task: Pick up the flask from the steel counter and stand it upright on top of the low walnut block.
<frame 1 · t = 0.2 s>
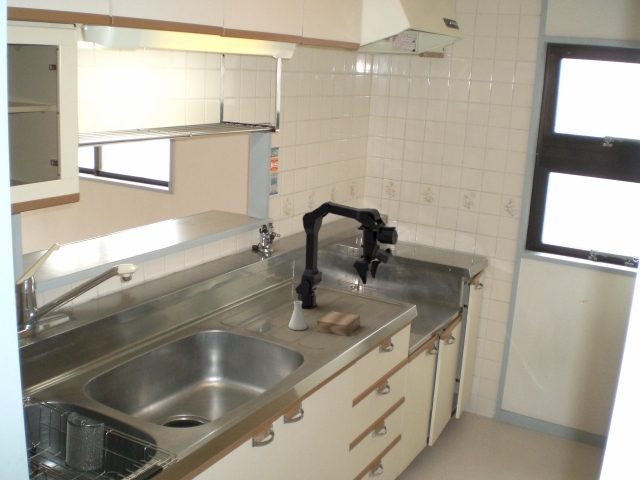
hand: (369, 281, 270), 14 cm above the counter, tool pointing down, fingers open, 9 cm apart
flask: (298, 328, 261), on the counter
walnut block: (338, 328, 260), on the counter
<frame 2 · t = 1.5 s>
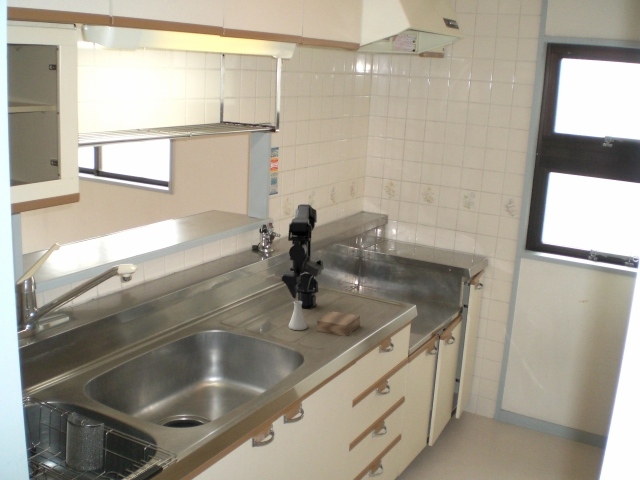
hand: (300, 294, 258), 13 cm above the counter, tool pointing down, fingers open, 9 cm apart
nothing on the counter moved.
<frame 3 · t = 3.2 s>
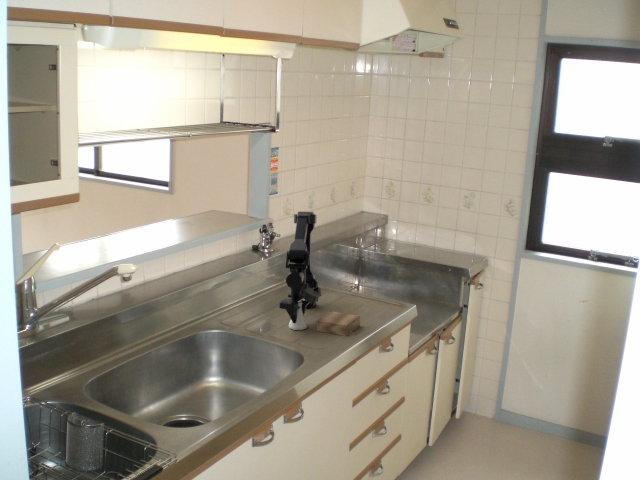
hand: (298, 320, 260), 3 cm above the counter, tool pointing down, fingers closed on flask, 5 cm apart
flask: (298, 327, 260), on the counter, touching gripper
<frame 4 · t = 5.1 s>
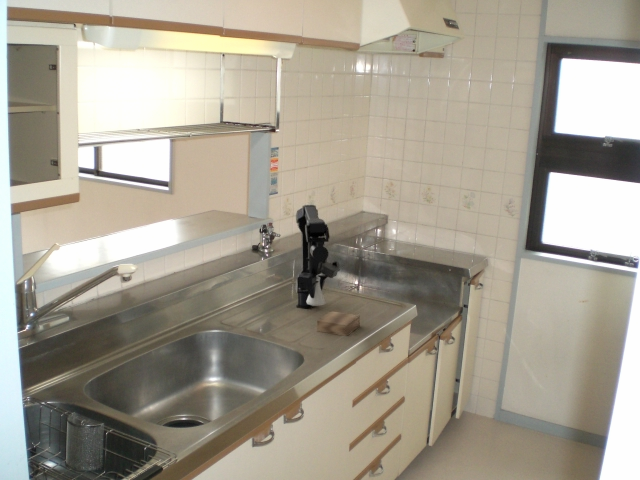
hand: (316, 295, 257), 13 cm above the counter, tool pointing down, fingers closed on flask, 5 cm apart
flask: (316, 303, 258), point 9 cm above the counter, touching gripper
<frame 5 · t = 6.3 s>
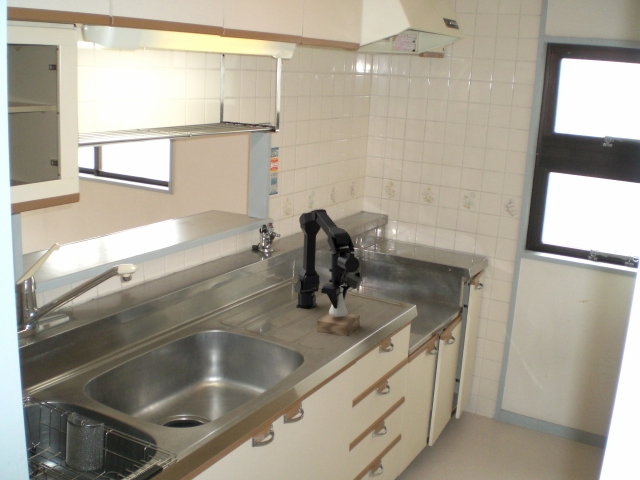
hand: (338, 306, 258), 9 cm above the counter, tool pointing down, fingers closed on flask, 5 cm apart
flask: (338, 314, 259), point 5 cm above the counter, touching gripper
when the fingers open (7 cm above the counter, at t = 7.3 s): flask stays where it is, resting on walnut block.
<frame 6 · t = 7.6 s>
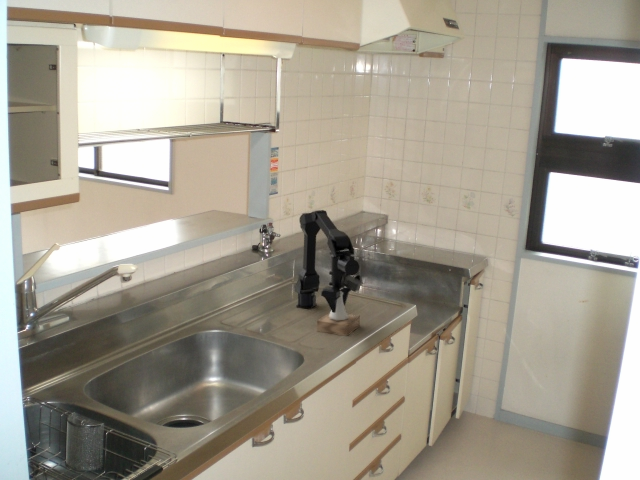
hand: (338, 309, 258), 7 cm above the counter, tool pointing down, fingers open, 8 cm apart
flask: (338, 318, 259), point 4 cm above the counter, touching walnut block
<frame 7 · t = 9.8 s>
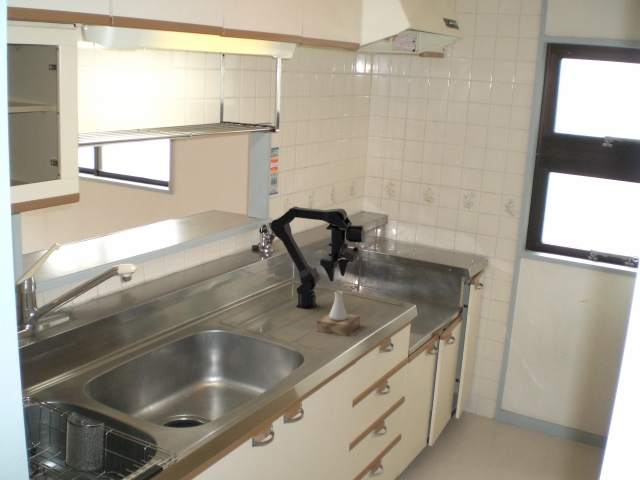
hand: (337, 278, 279), 13 cm above the counter, tool pointing down, fingers open, 9 cm apart
nothing on the counter moved.
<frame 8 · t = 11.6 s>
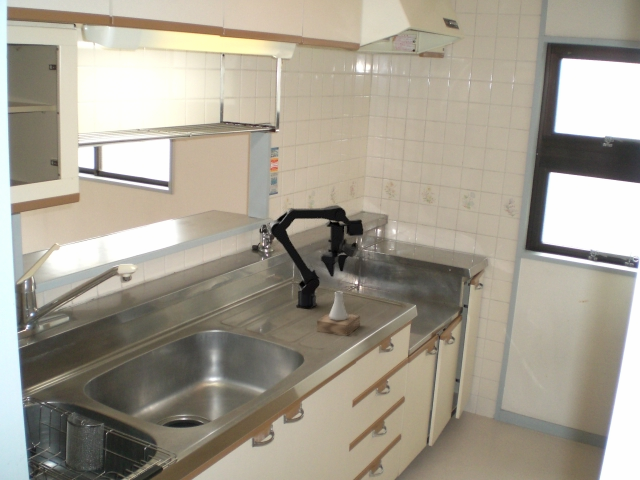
hand: (336, 273, 285), 13 cm above the counter, tool pointing down, fingers open, 9 cm apart
nothing on the counter moved.
at the end: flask inside the target area on the walnut block (0.1 cm from its centre), point 3.8 cm above the walnut block's base; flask tilted 0°; the gripper is holding nothing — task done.
